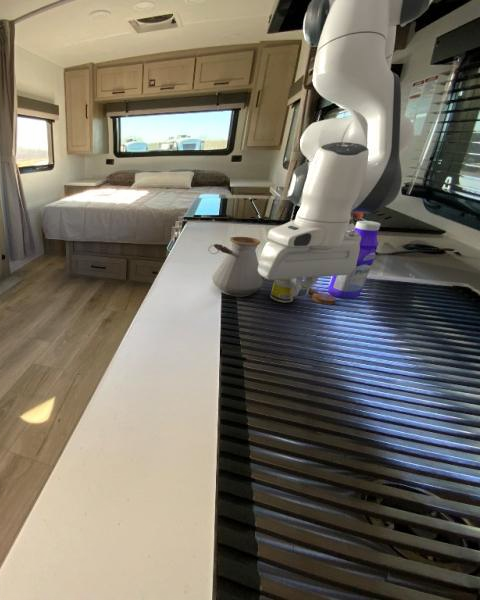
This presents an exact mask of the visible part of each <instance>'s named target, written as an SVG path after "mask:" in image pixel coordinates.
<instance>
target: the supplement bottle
mask: <svg viewBox="0 0 480 600" xmlns="http://www.w3.org/2000/svg"><path fill="white" fill-rule="evenodd" d="M290 290H291V284H290V281H289V279H278V280H273V284H272V288H271V292H270V298H271V299H273V300H274V301H277V302H280V303H291V302H293V301H294V299H295V296H293V295H291V294H290Z"/></svg>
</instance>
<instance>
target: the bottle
mask: <svg viewBox="0 0 480 600" xmlns="http://www.w3.org/2000/svg"><path fill="white" fill-rule="evenodd" d="M381 225H382V224H381V223H380V222H377V221H372V220H357V221H356V224H355V229H354V231H357V232H358V233H359V234H360V236H361V241H360V244H359V245H360V250H359V256H358V260H357V263H356V267H355V269H354V271H353V272H352V273H351V274H349V275H338V276H330V280H329V282H328V286H327V294H329V295H332V296H334V297H335V298H338V299H345V300H349V299H354V298H356V297H358V296H359V295H360V294H361V293H362V292H363V289H364V286H365V283H366V281H367V278H368V276H369V273H370V270H371V269H372V265H373V264H374V261H375V258H376V254H375V247H376V246H377V247H378V245H379V242H378V233H379V230H380V228H381Z"/></svg>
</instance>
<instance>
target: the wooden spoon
mask: <svg viewBox="0 0 480 600" xmlns="http://www.w3.org/2000/svg"><path fill="white" fill-rule="evenodd" d="M302 283H303V282H299V285H301V284H302ZM308 294H309V295H311V296H312V297H311V299H312V300H313V301H314V302H316V303H318V304H321V305H328V306H329V305H334V304H335V303H336V300H337V297H336V296H333V295H331V294H330V293H325V292H320V291H318V290H315V289H313V288H312V287H311V288H310V289H309V292H308Z"/></svg>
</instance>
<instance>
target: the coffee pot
mask: <svg viewBox="0 0 480 600" xmlns="http://www.w3.org/2000/svg"><path fill="white" fill-rule="evenodd" d="M229 241H230V242H231V248H228V247H226V246H223V245H222V244H218V243H214V244H211V245H210V246H209V247H208V252H209V253H210V254H212V255H216V254H219V252H221V253H224V254H226V255H225V256H224V258H223V259H222V260H221V262H220V264H219V265H218V266H217V268H216V269H215V271H214V272H213V273H212V276H211V280H212V283H213V284H214V286H215V287H216V288H217V290H218V291H219V292H221V293H222V294H225V295H228V296H231V297H237V298H238V297H241V298H242V297H243V298H245V297H248V296H251V295H252V294H254V293H256V292H257V291H259V290H261V288H262V287H263V286H264V282H263V277H262V276H261V275H260V274H259V272H258V265H259V260H258V256H257V252H256V249H257V247H258V246H259V245H260V244H261V240H259V239H257V238H255V237H250V236H232V237H230V238H229ZM211 247H213V248H215V249H216V250H217V252H215V253H214V252H211V251H210V248H211Z"/></svg>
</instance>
